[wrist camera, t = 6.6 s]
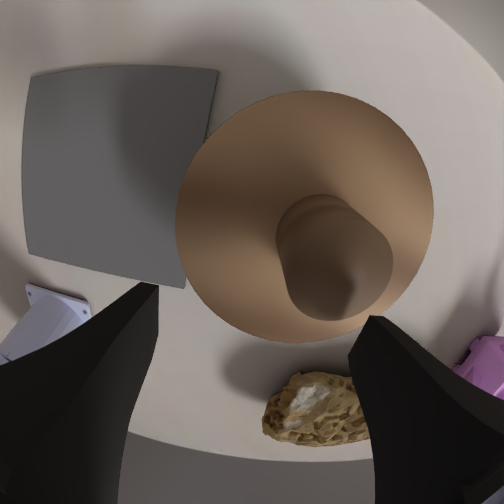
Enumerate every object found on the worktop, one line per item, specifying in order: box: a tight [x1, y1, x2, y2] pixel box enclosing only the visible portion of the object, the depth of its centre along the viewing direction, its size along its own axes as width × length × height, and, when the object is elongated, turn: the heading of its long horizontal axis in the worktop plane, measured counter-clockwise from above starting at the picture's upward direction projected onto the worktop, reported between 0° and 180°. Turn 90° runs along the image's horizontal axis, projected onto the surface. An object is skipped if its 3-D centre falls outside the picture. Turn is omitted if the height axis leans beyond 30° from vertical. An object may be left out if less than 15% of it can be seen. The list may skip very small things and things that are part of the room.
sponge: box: [262, 371, 370, 447], centre depth 23 cm, size 13×8×20 cm
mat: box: [22, 66, 219, 289], centre depth 16 cm, size 15×15×1 cm
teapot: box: [451, 336, 504, 400], centre depth 22 cm, size 18×13×10 cm
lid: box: [175, 91, 434, 343], centre depth 11 cm, size 13×13×4 cm
